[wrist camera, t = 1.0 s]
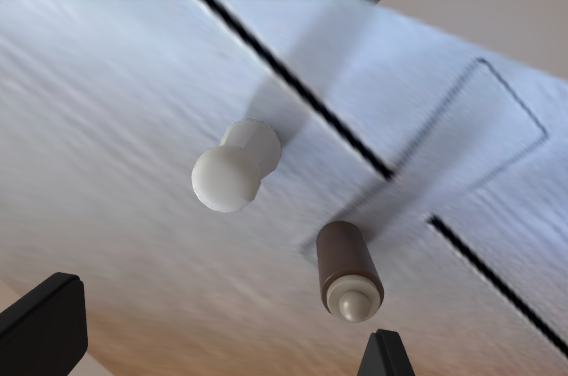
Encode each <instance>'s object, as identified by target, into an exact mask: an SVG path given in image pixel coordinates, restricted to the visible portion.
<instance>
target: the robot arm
mask: <svg viewBox="0 0 568 376" xmlns="http://www.w3.org/2000/svg"><path fill="white" fill-rule="evenodd" d="M87 347H88V337H87V323H86V310H85V296H84V284H83V282H82V281H80V278H79V276H77V275H73V274H67V273H61V272H57V273H55V274H53V275H52V276H50V277H49V278H47V279H46V280H45V281H43V282H42V283H41V284H39V285H38V286H37V287H35V288H34V289H33V290H31V291H30V292H29V293H27V294H26V295H24V296H23V297H22V298H20V299H19V300H18V301H17V302H15V303H14V304H12V305H11V306H10V307H8V308H7V309H5V310H4V311H3V312H2V313H0V376H67V375H68V374H69V373H70V372H71V371H72V369H73V368H74V367H75V366H76V364H77V363H78V362H79V361H80V360H81V358H82V357H83V356H84V354H85V352H86V350H87ZM357 376H415V374H414V371H413V369H412V366H411V364H410V361H409V359H408V356H407V353H406V351H405V348H404V346H403V343H402V341H401V338H400V336H399V334H398V333H397V332H394V331H389V330H383V329H378V330H377V332H376V333H371V335H370V338H369V341H368V344H367V347H366V350H365V353H364V356H363V359H362V362H361V365H360V368H359V371H358V374H357Z"/></svg>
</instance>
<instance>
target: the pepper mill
mask: <svg viewBox="0 0 568 376" xmlns="http://www.w3.org/2000/svg"><path fill="white" fill-rule="evenodd" d="M316 245H317V257H318V269H319V281H320V293H321V300H322V303H323V305H324V307H325V308H326V310H327V311H328V312H329V313H330V314H332V315H333V316H335V317H336V318H338V319H340V320H342V321H344V322H349V323H358V322H362V321H365V320H367V319H369V318H371V317H372V316H373V315H374V314H375V313H376V312H377V310H378V309H379V308H380V306H381V304H382V302H383V299H384V289H383V286H382V283H381V281H380V278H379V276H378V273H377V271H376V268H375V266H374V263H373V261H372V258H371V256H370V253H369V251H368V248H367V246H366V243H365V241H364V239H363V236H362V234H361V232H360V230H359V229H358V228H357V227H356V226H354V225H353V224H351V223H348V222H343V221H338V222H333V223H330V224H328V225H326V226H325V227H324V228H322V230H321V231H320V232H319V234H318V236H317V240H316Z"/></svg>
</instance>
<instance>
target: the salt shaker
mask: <svg viewBox="0 0 568 376" xmlns="http://www.w3.org/2000/svg"><path fill="white" fill-rule="evenodd" d="M280 158H281V143H280V141H279V139H278V137H277V135H276V133H275V131H274V130H273V129H272V128H270V127H269V126H268V125H267V124H265V123H264V122H262V121H257V120H252V119H246V120H241V121H237V122H235V123H233V124H232V125H231V126H230V127H229V128H228V129H227V130H226V131H225V133H224V135H223V138H222V140H221V142H220V145H219V146H216V147H212V148H210V149H208V150H207V151H206V152H205V153H204V154H203V155H202V156H201V157H200V158H198V160H197V162H196V164H195V167H194V169H193V172H192V175H191V176H192V183H193V189H194V191H195V193H196V194H197V196H198V198H199V199H200V201H201V202H202V203H204V204H205V205H207V206H208V207H210V208H211V209H213V210H216V211H221V212H225V213H228V212H233V211H237V210H241V209H242V208H243V207H245V206H246V205H247V204H249V203H250V202H251V201H252V200H254V198H255V196H256V194H257V191H258V189H259V187H260V184H261V179H263V178H265V177H266V176H267V175H269V174H270V173H271V172H272V171H274V170H275V169H276V167H277V164H278V162H279V160H280Z"/></svg>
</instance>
